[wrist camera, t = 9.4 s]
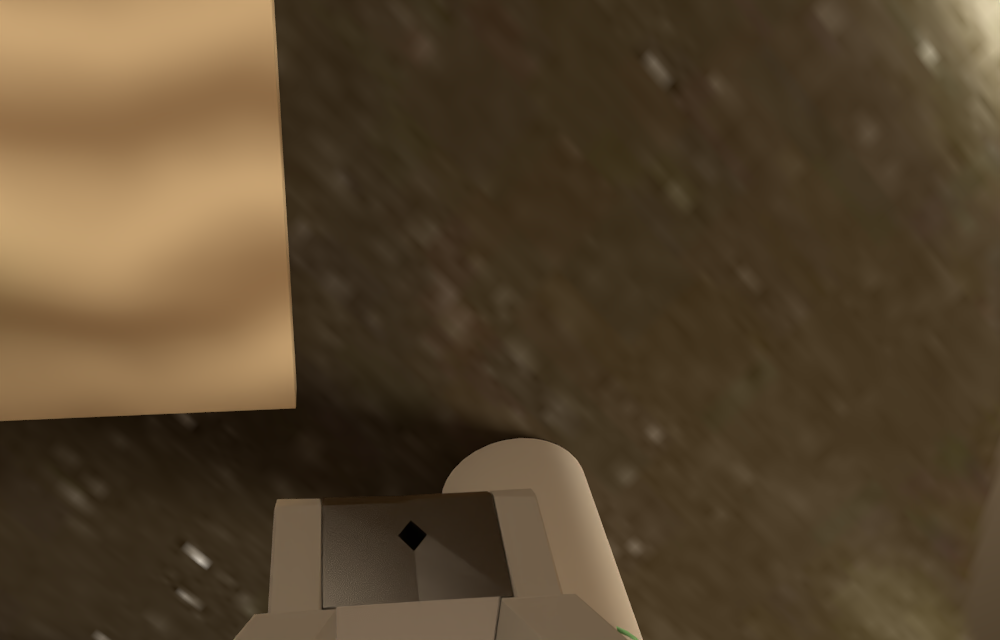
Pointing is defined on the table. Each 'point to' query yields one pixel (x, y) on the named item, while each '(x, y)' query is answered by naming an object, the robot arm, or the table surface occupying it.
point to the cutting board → (142, 210)
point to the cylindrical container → (556, 518)
